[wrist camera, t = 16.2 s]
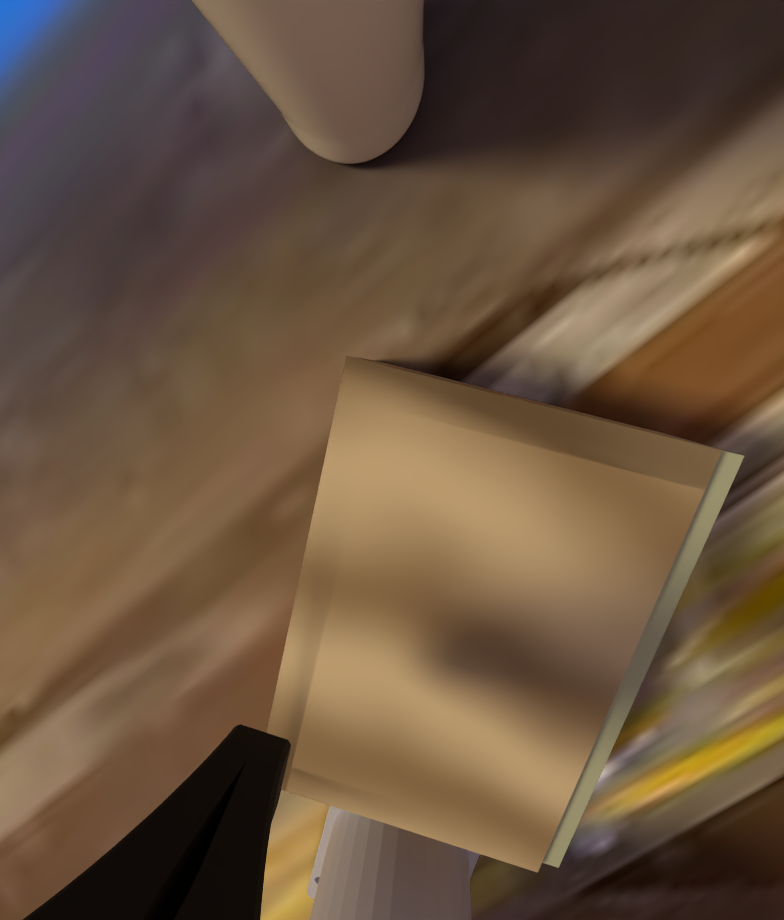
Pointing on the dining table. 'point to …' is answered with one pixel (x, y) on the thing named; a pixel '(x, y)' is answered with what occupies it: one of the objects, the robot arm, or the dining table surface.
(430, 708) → the housing
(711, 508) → the pull-out drawer
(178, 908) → the robot arm
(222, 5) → the white cylinder
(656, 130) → the dining table surface
